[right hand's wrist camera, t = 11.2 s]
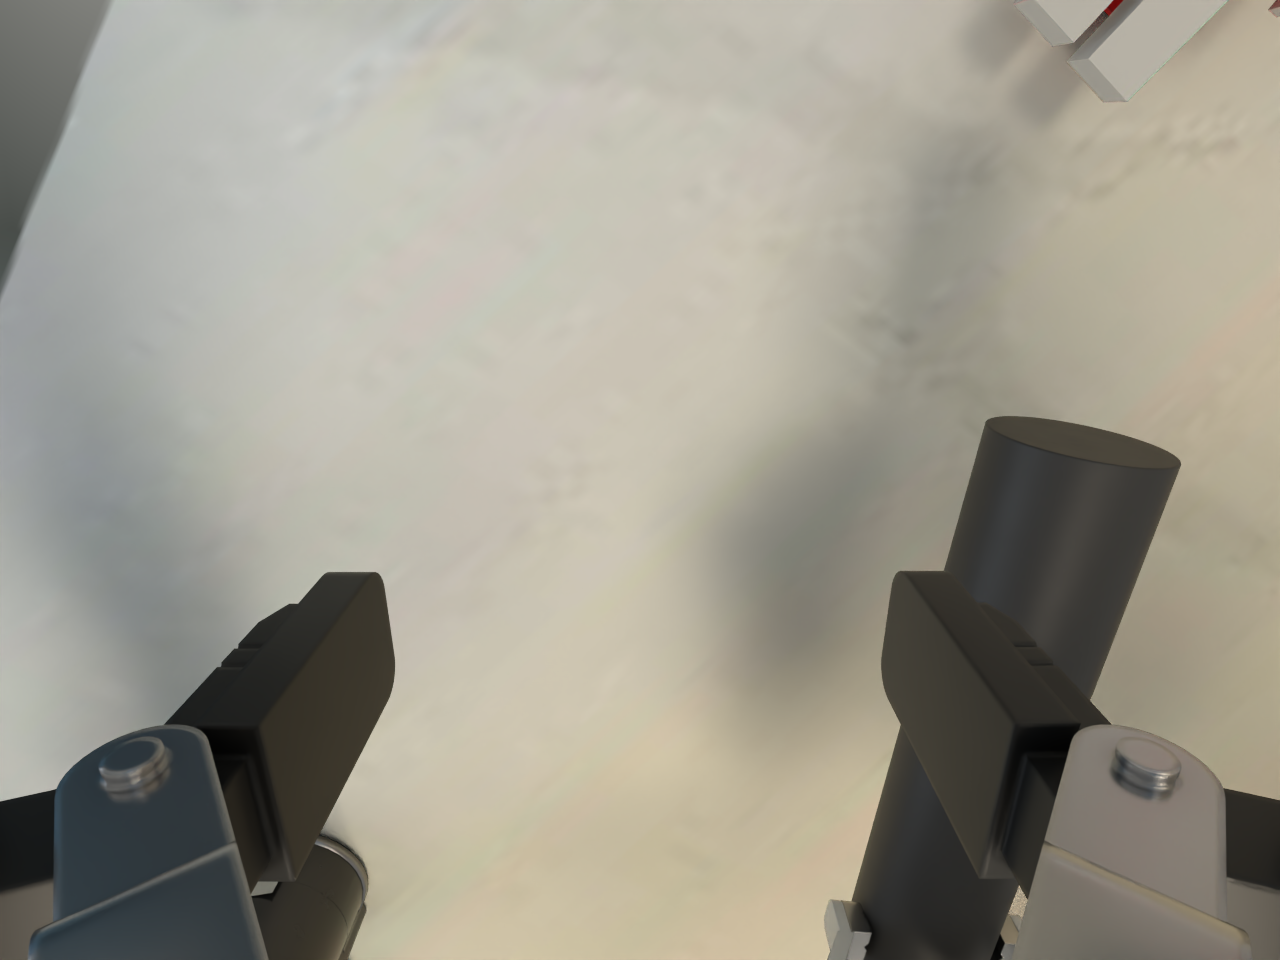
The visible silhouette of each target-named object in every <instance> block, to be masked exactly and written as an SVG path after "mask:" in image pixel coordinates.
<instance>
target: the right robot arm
mask: <svg viewBox="0 0 1280 960" xmlns="http://www.w3.org/2000/svg"><path fill="white" fill-rule="evenodd" d="M238 645H239V646H238V649H234V650H233V651H232V652H231V653H230V654H229V655H228V656H227V657H226V658H225V659H224V660H223V661H222V665H221V667H217V668H216V669H215V670H214V671H213V672H212V673H211V674H210V676H209V677H208V678H207V679H206V680H205V681H204V682H203V683H202V684H201V685H200V686H199V687H198V689H197V690H196V691H195V692H194V693H193V694H192V695H191V696H190V697H189V698H188V699H187V700H186V702H185V703H184V704H183V705H182V706H181V707H180V708H179V709H178V710H177V711H176V712H175V713H174V715H173V716H172V717H171V718H170V719H169V720H168V721H167V722H166V723H165V724H164V725H162V726H155V727H150V728H146V729H142V730H138V731H135V732H132V733H129V734H126V735H124V736H121V737H119V738H117V739H114V740H112V741H110V742H108V743H106V744H104V745H103V746H101V747H99V748H97V749H96V750H94V751H92V752H91V753H90V754H88V755H87V756H85V757H84V758H82V759H81V760H80V761H79V762H78V763H76V764H75V765H74V766H73V767H72V768H71V769H70V770H69V771H68V772H67V773H66V774H65V776H64V777H63V778H62V780H61V781H60V783H59V785H58V787H57V789H55V790H51V791H47V792H42V793H37V794H33V795H28V796H24V797H19V798H14V799H10V800H5V801H1V802H0V960H347V959H348V957H349V954H350V952H351V949H352V946H353V944H354V941H355V939H356V936H357V934H358V931H359V928H360V926H361V923H362V921H363V918H364V916H365V913H366V908H365V907H364V904H363V902H364V900H365V897H366V895H367V891H368V879H367V875H366V872H365V869H364V867H363V866H362V864H361V863H360V861H359V860H358V859H357V858H356V857H355V855H354V854H352V853H351V852H350V851H349V850H348V849H346V848H345V847H343V846H342V845H340V844H338V843H337V842H335V841H333V840H330V839H328V838H325V837H322V836H319V834H320V832H321V830H322V828H323V826H324V824H325V822H326V820H327V818H328V817H329V815H330V813H331V811H332V809H333V807H334V805H335V803H336V801H337V799H338V797H339V795H340V793H341V791H342V789H343V787H344V785H345V783H346V781H347V780H348V778H349V776H350V774H351V772H352V770H353V768H354V766H355V764H356V762H357V760H358V758H359V756H360V754H361V752H362V750H363V748H364V746H365V744H366V742H367V741H368V739H369V737H370V735H371V733H372V731H373V729H374V727H375V725H376V723H377V721H378V719H379V717H380V715H381V713H382V711H383V709H384V707H385V705H386V704H387V702H388V699H389V697H390V694H391V691H392V688H393V683H394V675H395V657H394V649H393V643H392V636H391V629H390V622H389V615H388V608H387V601H386V595H385V588H384V583H383V580H382V578H381V576H380V575H379V574H378V573H376V572H327V573H325V574H324V575H323V576H322V577H321V578H320V579H319V580H318V582H317V583H316V584H315V585H314V586H313V587H312V589H311V590H310V591H309V592H308V593H307V594H306V595H305V597H304V598H303V599H302V600H301V601H300V602H299V604H288V605H287V606H285V607H283V608H282V609H280V610H278V611H277V612H275V613H273V614H272V615H270V616H268V617H267V618H265V619H263V620H262V621H260V622H258V624H257V625H256V626H255V627H254V628H253V629H252V630H251V631H250V632H249V633H248V634H247V635H246V637H245V638H244V639H243V640H242V641H241V642H240V643H239V644H238ZM881 670H882V679H883V685H884V689H885V692H886V695H887V698H888V700H889V702H890V704H891V706H892V708H893V710H894V712H895V714H896V716H897V717H898V719H899V721H900V723H901V725H902V727H903V729H904V731H905V733H906V735H907V737H908V739H909V741H910V743H911V745H912V747H913V749H914V751H915V753H916V755H917V757H918V759H919V761H920V763H921V765H922V767H923V769H924V771H925V773H926V775H927V777H928V779H929V781H930V783H931V785H932V787H933V788H934V790H935V792H936V794H937V796H938V798H939V800H940V802H941V804H942V806H943V808H944V810H945V812H946V814H947V816H948V818H949V820H950V822H951V824H952V826H953V828H954V830H955V832H956V834H957V836H958V838H959V840H960V842H961V844H962V846H963V848H964V850H965V852H966V854H967V856H968V858H969V860H970V861H971V863H972V865H973V867H974V869H975V871H976V873H977V875H978V877H979V879H1016V880H1017V882H1018V884H1019V885H1020V887H1021V889H1022V891H1023V892H1024V894H1025V896H1026V898H1027V900H1028V901H1027V904H1026V908H1025V912H1024V915H1023V919H1022V923H1021V926H1020V930H1019V934H1018V937H1017V941H1016V945H1015V948H1014V952H1013V955H1012V959H1011V960H1280V800H1275V799H1271V798H1266V797H1262V796H1257V795H1252V794H1248V793H1243V792H1238V791H1234V790H1229V789H1225V788H1223V787H1222V785H1221V783H1220V781H1219V780H1218V778H1217V777H1216V776H1215V774H1214V773H1213V772H1212V771H1211V770H1210V769H1209V768H1208V767H1207V766H1206V765H1205V764H1204V763H1202V762H1201V761H1200V760H1199V759H1198V758H1196V757H1195V756H1193V755H1192V754H1190V753H1189V752H1188V751H1186V750H1184V749H1183V748H1181V747H1179V746H1177V745H1176V744H1174V743H1172V742H1170V741H1168V740H1166V739H1163V738H1161V737H1159V736H1156V735H1154V734H1151V733H1148V732H1145V731H1142V730H1138V729H1134V728H1130V727H1125V726H1118V725H1111V723H1110V722H1109V721H1108V720H1107V719H1106V718H1105V717H1104V716H1103V715H1102V714H1101V713H1100V711H1099V710H1098V709H1097V708H1096V707H1095V706H1094V705H1093V704H1092V703H1091V702H1090V701H1089V699H1088V698H1087V697H1086V696H1085V695H1084V694H1083V693H1082V692H1081V691H1080V690H1079V689H1078V687H1077V686H1076V685H1075V684H1074V683H1073V682H1072V681H1071V680H1070V679H1069V678H1068V676H1067V675H1066V674H1065V673H1064V672H1063V671H1062V670H1061V669H1060V668H1059V667H1058V666H1054V665H1053V660H1052V659H1051V658H1050V657H1049V656H1048V655H1047V654H1046V652H1045V651H1044V650H1043V649H1042V648H1041V647H1037V645H1036V642H1035V640H1034V639H1033V638H1032V637H1031V636H1030V635H1029V634H1028V633H1027V632H1026V631H1025V630H1024V628H1023V627H1022V626H1021V625H1020V624H1019V623H1018V622H1017V621H1016V620H1014V619H1013V618H1011V617H1009V616H1008V615H1006V614H1004V613H1003V612H1001V611H999V610H998V609H996V608H994V607H993V606H991V605H989V604H988V603H977V602H976V601H975V599H974V598H973V597H972V596H971V595H970V594H969V592H968V591H967V590H966V589H965V588H964V587H963V585H962V584H961V583H960V582H959V581H958V580H957V578H956V577H955V576H954V575H953V574H952V573H951V572H949V571H899V572H898V573H897V574H896V575H895V577H894V579H893V583H892V588H891V594H890V601H889V608H888V615H887V622H886V629H885V636H884V643H883V650H882V658H881Z"/></svg>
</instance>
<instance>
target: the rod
mask: <svg viewBox="0 0 1280 960" xmlns="http://www.w3.org/2000/svg"><path fill="white" fill-rule="evenodd" d="M1180 466H1181V462H1180V460H1179V459H1178V458H1177V457H1176V456H1174V455H1173V454H1171V453H1169V452H1167V451H1165V450H1163V449H1161V448H1159V447H1157V446H1154V445H1152V444H1149V443H1146V442H1143V441H1140V440H1137V439H1134V438H1131V437H1128V436H1124V435H1121V434H1117V433H1113V432H1110V431H1106V430H1102V429H1097V428H1093V427H1088V426H1084V425H1079V424H1074V423H1068V422H1062V421H1056V420H1049V419H1042V418H1033V417H1019V416H1003V417H995V418H991V419H988V420H987V421H986V423H985V426H984V430H983V434H982V437H981V441H980V444H979V448H978V451H977V455H976V459H975V462H974V466H973V469H972V473H971V476H970V480H969V484H968V487H967V491H966V494H965V498H964V501H963V505H962V509H961V512H960V516H959V519H958V523H957V526H956V530H955V534H954V537H953V541H952V544H951V548H950V551H949V555H948V559H947V562H946V566H945V569H944V571H949V572H951V573H952V574H953V575H954V576H955V577H956V578H957V580H958V581H959V582H960V583H961V584H962V585H963V587H964V588H965V589H966V590H967V591H968V592H969V594H970V595H971V596H972V597H973V598H974V599H975V601H976V602H977V603H988V604H989V605H991V606H993V607H994V608H996V609H998V610H999V611H1001V612H1003V613H1004V614H1006V615H1008V616H1009V617H1011V618H1013V619H1014V620H1016V621H1017V622H1018V623H1019V624H1020V625H1021V626H1022V627H1023V628H1024V630H1025V631H1026V632H1027V633H1028V634H1029V635H1030V636H1031V637H1032V638H1033V639H1034V640H1035V642H1036V645H1037V647H1041V648H1042V649H1043V650H1044V651H1045V652H1046V654H1047V655H1048V656H1049V657H1050V658H1051V659H1052V660H1053V665H1054V666H1058V667H1059V668H1060V669H1061V670H1062V671H1063V672H1064V673H1065V674H1066V675H1067V676H1068V678H1069V679H1070V680H1071V681H1072V682H1073V683H1074V684H1075V685H1076V686H1077V687H1078V689H1079V690H1080V691H1081V692H1082V693H1083V694H1084V695H1085V696H1086V697H1087V698H1088V699H1089V701H1090V700H1091V697H1092V694H1093V692H1094V689H1095V687H1096V684H1097V681H1098V679H1099V676H1100V674H1101V671H1102V668H1103V666H1104V663H1105V661H1106V658H1107V655H1108V653H1109V650H1110V648H1111V645H1112V643H1113V640H1114V637H1115V635H1116V632H1117V630H1118V627H1119V624H1120V622H1121V619H1122V617H1123V614H1124V611H1125V609H1126V606H1127V604H1128V601H1129V598H1130V596H1131V593H1132V591H1133V588H1134V585H1135V583H1136V580H1137V578H1138V575H1139V572H1140V570H1141V567H1142V565H1143V562H1144V560H1145V557H1146V554H1147V552H1148V549H1149V547H1150V544H1151V541H1152V539H1153V536H1154V534H1155V531H1156V528H1157V526H1158V523H1159V521H1160V518H1161V515H1162V513H1163V510H1164V508H1165V505H1166V502H1167V500H1168V497H1169V495H1170V492H1171V490H1172V487H1173V484H1174V482H1175V479H1176V477H1177V474H1178V471H1179V469H1180ZM1018 886H1019V884H1018V882H1017V880H1016V879H979V877H978V875H977V873H976V871H975V869H974V867H973V865H972V863H971V861H970V860H969V858H968V856H967V854H966V852H965V850H964V848H963V846H962V844H961V842H960V840H959V838H958V836H957V834H956V832H955V830H954V828H953V826H952V824H951V822H950V820H949V818H948V816H947V814H946V812H945V810H944V808H943V806H942V804H941V802H940V800H939V798H938V796H937V794H936V792H935V790H934V788H933V787H932V785H931V783H930V781H929V779H928V777H927V775H926V773H925V771H924V769H923V767H922V765H921V763H920V761H919V759H918V757H917V755H916V753H915V751H914V749H913V747H912V745H911V743H910V741H909V739H908V737H907V735H906V733H905V731H904V729H903V727H902V725H901V726H900V730H899V734H898V737H897V741H896V744H895V748H894V751H893V755H892V759H891V762H890V766H889V769H888V773H887V776H886V780H885V784H884V787H883V791H882V794H881V798H880V801H879V805H878V809H877V812H876V816H875V819H874V823H873V826H872V830H871V834H870V837H869V841H868V844H867V848H866V851H865V855H864V859H863V862H862V866H861V869H860V873H859V876H858V880H857V884H856V887H855V891H854V894H853V898H852V901H851V902H860V904H861V905H862V907H863V910H864V914H863V915H864V916H865V917H866V918H867V919H868V922H869V925H870V928H871V932H872V935H871V938H870V942H869V944H868V945H866V950H867V952H866V955H865V958H864V960H990V959H991V956H992V954H993V951H994V949H995V946H996V943H997V941H998V938H999V936H1000V933H1001V930H1002V928H1003V925H1004V923H1005V920H1006V917H1007V915H1008V912H1009V910H1010V907H1011V904H1012V902H1013V899H1014V897H1015V894H1016V891H1017V889H1018Z"/></svg>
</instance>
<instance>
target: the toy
mask: <svg viewBox="0 0 1280 960" xmlns="http://www.w3.org/2000/svg"><path fill="white" fill-rule="evenodd" d="M1227 1H1228V0H1016V2H1015V3H1014V6H1015V7H1016V8H1017V9H1018V10H1019V11H1020V12H1021V13H1022V14H1023V15H1024V16H1025V18H1026V19H1027V20H1028V21H1029V22H1030V23H1031V24H1032V25H1033V26H1034V27H1035V28H1036V30H1037V31H1038V32H1039V33H1040V34H1041V35H1042V36H1043V37H1044V38H1045V39H1046V40H1047V42H1048V43H1049V44H1050V45H1051V46H1052V47H1054V46H1059V45H1065V44H1070V43H1074V42H1075V41H1076V40H1077V39H1078V38H1079V37H1080V36H1081V35H1082V33H1083V32H1084V31H1085V30H1086V29H1087V28H1088V27H1089V26H1090V25H1091V24H1092V23H1093V22H1094V21H1095V19H1096V18H1097V17H1098V16H1099V15H1100V14H1101V13H1102V12H1103V11H1105V12H1106V13H1107V15H1108V17H1107V19H1106V20H1105V21H1104V22H1103V23H1102V24H1101V25H1100V26H1099V27H1098V28H1097V29H1096V30H1095V31H1094V32H1093V34H1092V35H1091V36H1090V37H1089V38H1088V39H1087V40H1086V41H1085V42H1084V43H1083V44H1082V45H1081V46H1080V47H1079V48H1078V50H1077V51H1076V52H1075V53H1074V54H1073V55H1072V56H1071V57H1070V58H1069V59H1068V60H1067V61H1066V62H1067V63H1068V64H1069V66H1070V67H1071V68H1072V69H1073V70H1074V71H1075V72H1076V73H1077V74H1078V75H1079V76H1080V78H1081V79H1082V80H1083V81H1084V82H1085V83H1086V84H1087V85H1088V86H1089V87H1090V88H1091V90H1092V91H1093V92H1094V93H1095V94H1096V95H1097V96H1098V97H1099V98H1100V99H1101V100H1102V102H1128V101H1129V100H1130V99H1131V98H1132V97H1133V96H1134V95H1135V94H1136V93H1137V92H1138V91H1139V90H1140V89H1141V88H1142V87H1143V86H1144V85H1145V84H1146V83H1147V82H1148V81H1149V80H1150V79H1151V78H1152V77H1153V76H1154V75H1155V74H1156V73H1157V72H1158V71H1159V70H1160V69H1161V68H1162V67H1163V66H1164V65H1165V64H1166V63H1167V62H1168V61H1169V60H1170V59H1171V58H1172V57H1173V56H1174V55H1175V54H1176V53H1177V52H1178V51H1179V50H1180V49H1181V48H1182V47H1183V46H1184V44H1185V43H1186V42H1187V41H1188V40H1189V39H1190V38H1191V37H1192V36H1193V35H1194V34H1195V33H1196V32H1197V31H1198V30H1199V29H1200V28H1201V27H1202V26H1203V25H1204V24H1205V23H1206V22H1207V21H1208V20H1209V19H1210V18H1211V17H1212V16H1213V15H1214V14H1215V13H1216V12H1217V11H1218V10H1219V9H1220V8H1221V7H1222V6H1223V5H1224V4H1225V3H1226V2H1227ZM1269 11H1270V12H1271V13H1272V14H1274V15H1275V16H1276V17H1280V0H1276V1H1275V2H1274V4H1273V5H1272V6H1271V7H1270V8H1269Z"/></svg>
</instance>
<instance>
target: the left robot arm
mask: <svg viewBox="0 0 1280 960" xmlns="http://www.w3.org/2000/svg"><path fill="white" fill-rule="evenodd" d="M863 914H864V910H863V907H862V905H861V904H860V902H851V901H842V900H841V901H840V900H829V902H828V905H827V909H826V913H825V917H824V926H825V932H826V936H827V940H828V944H829V948H830V953H829V956H828V959H827V960H864V958H865V955H866V952H867V950H866V945H868V944H869V942H870V938H871V935H872V932H871V928H870V925H869V922H868V919H867V918H866V917H865V916H864V915H863ZM1021 923H1022V919H1021V917H1020V916H1019V915H1012V914H1008V915H1007V917H1006V920H1005V923H1004V925H1003V928H1002V930H1001V933H1000V936H999V938H998V941H997V943H996V946H995V949H994V951H993V954H992V956H991V959H990V960H1011V959H1012V955H1013V952H1014V948H1015V945H1016V941H1017V937H1018V934H1019V930H1020V926H1021Z"/></svg>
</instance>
